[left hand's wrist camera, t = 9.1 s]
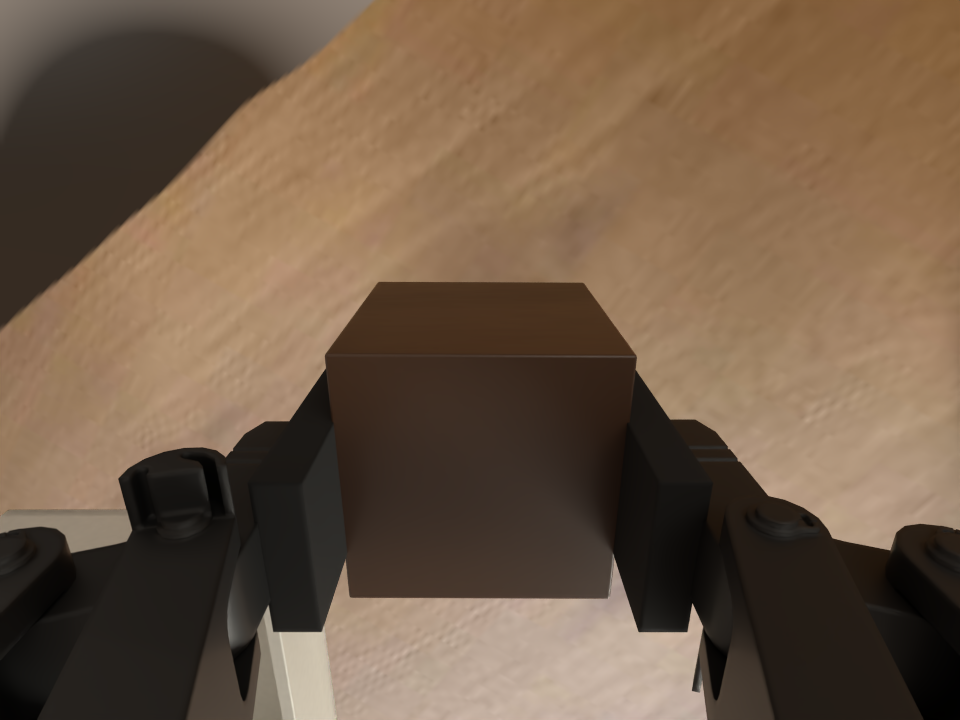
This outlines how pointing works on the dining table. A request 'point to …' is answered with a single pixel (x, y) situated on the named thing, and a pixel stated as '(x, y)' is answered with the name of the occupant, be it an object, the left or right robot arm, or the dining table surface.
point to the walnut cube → (480, 440)
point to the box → (284, 655)
